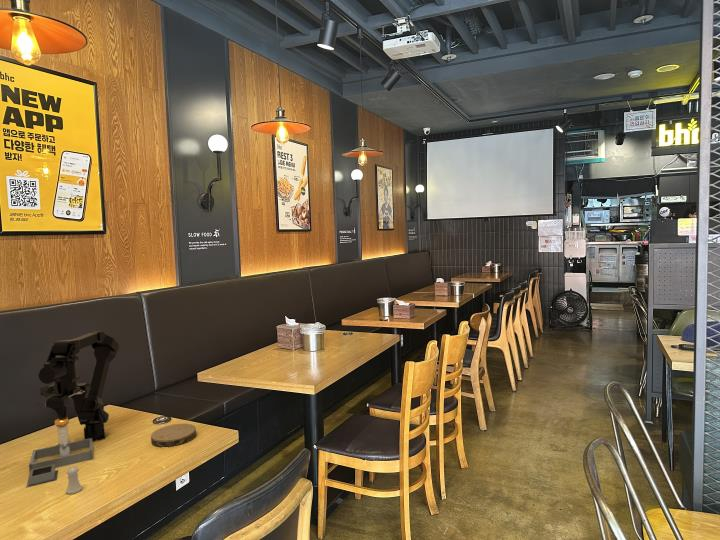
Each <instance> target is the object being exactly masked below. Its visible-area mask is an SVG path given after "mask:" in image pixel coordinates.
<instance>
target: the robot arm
mask: <svg viewBox="0 0 720 540" xmlns="http://www.w3.org/2000/svg"><path fill="white" fill-rule="evenodd" d="M86 347H90V348H91V349H92V350H93V355H94V358H95V365H94V368H93V373H92V377H91V381H90V383H89V382H82V383H81V382H80V383H79V382H78V380H80V375H78V374H77V361H78V360H80V357H79V356H77V355H78V354H79V353H80V352H81V350H82V349H84V348H86ZM119 347H120V346H119V343H118V341H116V339H115V338H114V337H111V336H109V335H107V334H106V333H105V332H104V331H101V330H99V331H96V330H95V331H93V330H92V331H91V332H88V333H85V334H83V335H80V336H78V337H75V338H73V339H66V340H65V339H64V340H55V342H54V343H53V345H52V347H51V349H50V352H49V354H48V355H47V356H48V357H47V360H46V363H43V367H42V368H41V369H40V370H39V372H38V379H39V380H40V382H41V383H42V384H45V385H44V386H41V387H40V388H39V395H40V396H41V397H43V398H44V399H46V400H45V401H44V403H45V404H44V407H45V408H48V409H52V410H54V411H55V413H56V414H57V416H58V419H59V418H64V417H67V418H68V414H69V408H70V406H71V403H70V398H71V399H72V400H73V401H72V402H73V405H74V410H75V414H76V417H77V419H78V421H79V425H81V426H82V425H84V427H83V437H84V439H89V438H92V442H94V441H100V440H104V439H106V432H105V423H108V420H109V417H110V416H109V415H110V414H109V413H108V412H107V411H105V409H104V408H105V404H104V401H103V399H102V398H103V393H104V389H105V384H106V380H107V375H108V371H109V367H110V364H111V362H112V361H113V360H114V359H115V358H116V357H117V353H118V351H119V349H120V348H119ZM53 382H54V383H53ZM51 383H53V384H52V385H49V384H51ZM47 384H48V385H49V386H48V385H47ZM84 439H83V440H84Z"/></svg>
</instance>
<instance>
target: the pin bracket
mask: <svg viewBox="0 0 720 540" xmlns="http://www.w3.org/2000/svg"><path fill="white" fill-rule="evenodd" d="M58 475H59V469H57V470H56V468H55V464H53V465H49V466H45V467H40V468H36V469H31V470H29V474H28V478H27V483H26V486H25V488H32V487H34V486H38V485H39V486H40V485H43V484H48V483H51V482H55V481H58Z"/></svg>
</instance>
